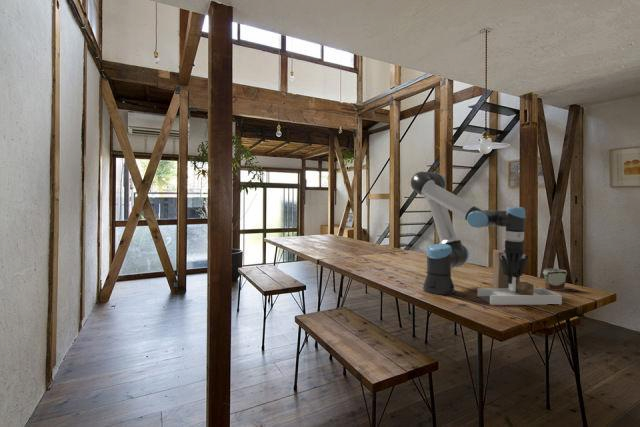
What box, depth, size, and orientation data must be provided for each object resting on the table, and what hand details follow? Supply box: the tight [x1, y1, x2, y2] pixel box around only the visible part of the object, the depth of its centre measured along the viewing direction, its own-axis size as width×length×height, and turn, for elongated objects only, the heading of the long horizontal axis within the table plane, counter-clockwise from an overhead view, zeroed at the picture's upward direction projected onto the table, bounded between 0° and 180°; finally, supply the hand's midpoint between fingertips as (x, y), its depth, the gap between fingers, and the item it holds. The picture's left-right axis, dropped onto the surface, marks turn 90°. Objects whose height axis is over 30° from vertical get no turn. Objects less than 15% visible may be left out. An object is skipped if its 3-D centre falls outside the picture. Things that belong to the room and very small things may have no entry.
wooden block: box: [491, 249, 521, 288], centre depth 166 cm, size 10×10×20 cm
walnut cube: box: [516, 281, 535, 295], centre depth 148 cm, size 5×5×5 cm
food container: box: [542, 268, 568, 291], centre depth 169 cm, size 12×6×10 cm, turn 100°
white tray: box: [476, 287, 563, 306], centre depth 148 cm, size 32×12×4 cm, turn 91°
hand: (511, 290), depth 149 cm, fingers closed
